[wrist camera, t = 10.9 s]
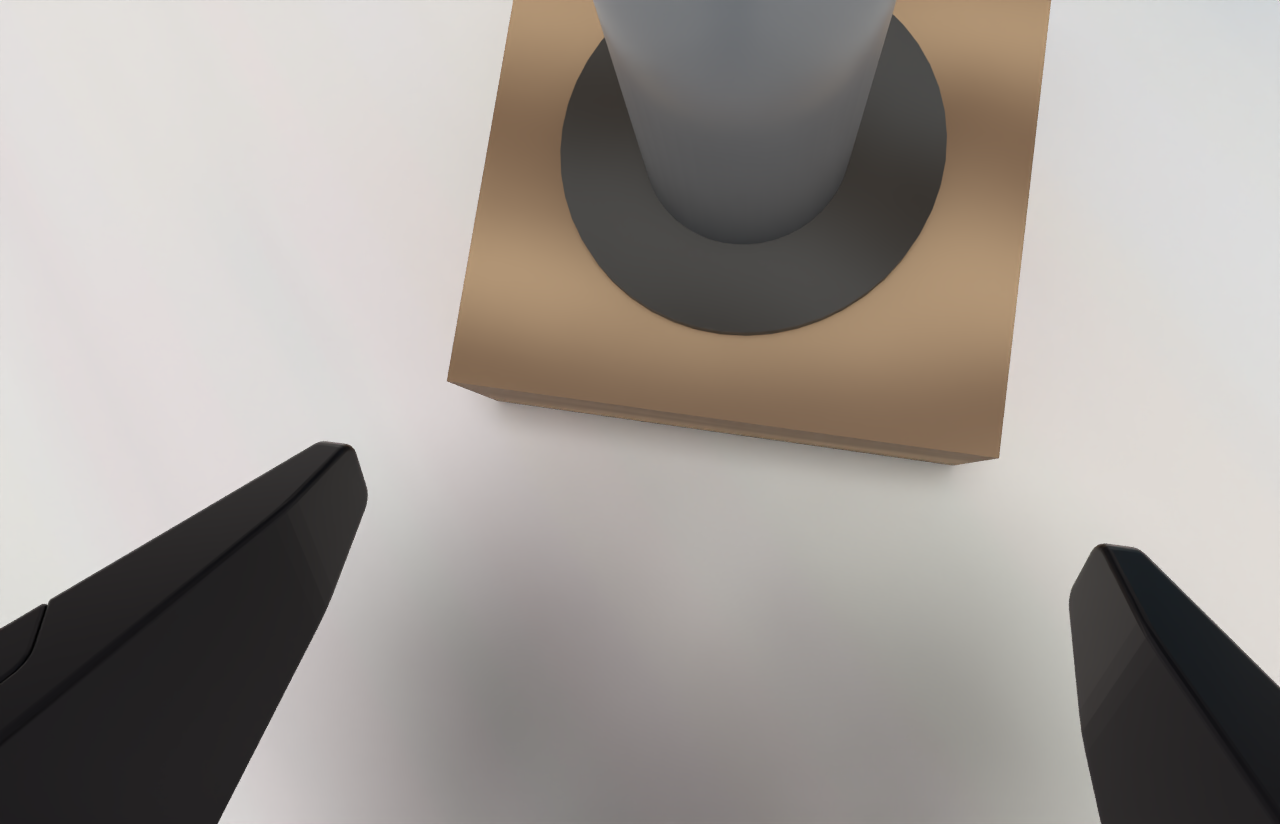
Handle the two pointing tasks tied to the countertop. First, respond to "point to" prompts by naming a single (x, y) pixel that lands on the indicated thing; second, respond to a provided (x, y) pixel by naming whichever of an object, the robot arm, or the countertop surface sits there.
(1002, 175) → the stand
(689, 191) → the grey bottle
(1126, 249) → the countertop surface
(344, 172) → the countertop surface
